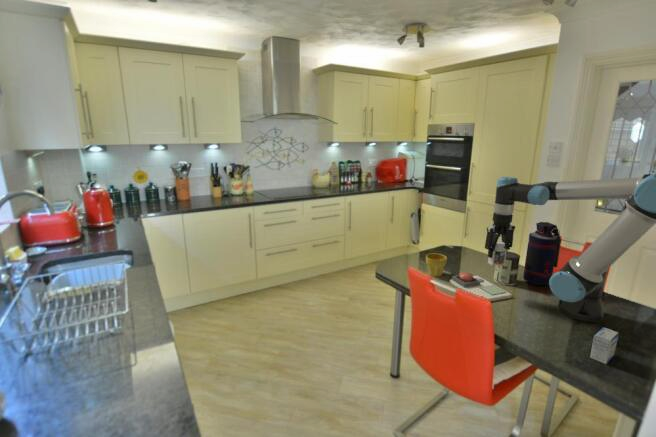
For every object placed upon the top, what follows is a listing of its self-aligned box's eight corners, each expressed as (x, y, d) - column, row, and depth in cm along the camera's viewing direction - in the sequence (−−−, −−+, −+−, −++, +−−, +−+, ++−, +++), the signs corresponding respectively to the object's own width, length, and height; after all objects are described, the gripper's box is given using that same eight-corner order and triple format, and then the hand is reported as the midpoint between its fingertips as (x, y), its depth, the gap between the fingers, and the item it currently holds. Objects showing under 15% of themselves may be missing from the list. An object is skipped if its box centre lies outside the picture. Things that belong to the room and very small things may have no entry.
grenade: (532, 287, 162) (541, 227, 155) (517, 277, 174) (525, 220, 166) (560, 287, 162) (571, 226, 155) (544, 276, 174) (553, 220, 167)
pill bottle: (486, 262, 153) (489, 242, 151) (494, 260, 156) (497, 240, 153) (497, 267, 148) (500, 245, 146) (506, 264, 151) (509, 243, 149)
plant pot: (425, 277, 173) (427, 259, 171) (423, 269, 183) (425, 252, 181) (446, 279, 172) (448, 260, 169) (443, 271, 182) (445, 253, 179)
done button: (475, 281, 162) (475, 276, 161) (464, 282, 160) (465, 277, 160) (466, 276, 167) (467, 271, 167) (456, 277, 166) (457, 273, 165)
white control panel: (511, 297, 152) (512, 290, 151) (482, 302, 147) (483, 295, 146) (476, 278, 172) (477, 271, 172) (449, 282, 168) (450, 275, 167)
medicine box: (606, 365, 108) (611, 341, 106) (589, 357, 111) (594, 334, 109) (614, 355, 112) (619, 332, 110) (597, 349, 116) (602, 326, 114)
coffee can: (512, 277, 173) (516, 251, 170) (519, 286, 163) (523, 258, 160) (490, 276, 175) (494, 250, 172) (496, 284, 165) (499, 257, 162)
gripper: (512, 209, 153) (506, 258, 158) (479, 212, 147) (473, 262, 153) (527, 213, 146) (519, 263, 151) (492, 216, 140) (485, 268, 146)
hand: (496, 263), depth 152 cm, fingers closed on pill bottle, 6 cm apart
